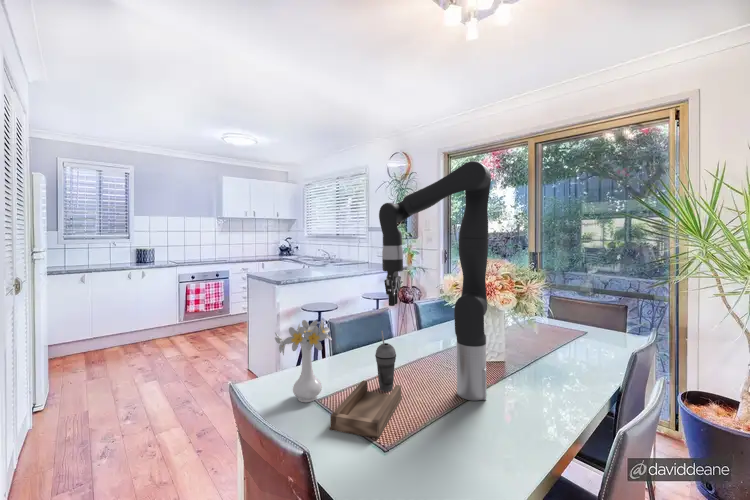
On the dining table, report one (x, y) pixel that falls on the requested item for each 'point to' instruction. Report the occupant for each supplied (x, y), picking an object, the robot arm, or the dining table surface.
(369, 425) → the u rest
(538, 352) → the dining table surface
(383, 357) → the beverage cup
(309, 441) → the dining table surface
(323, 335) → the flower vase
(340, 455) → the dining table surface
